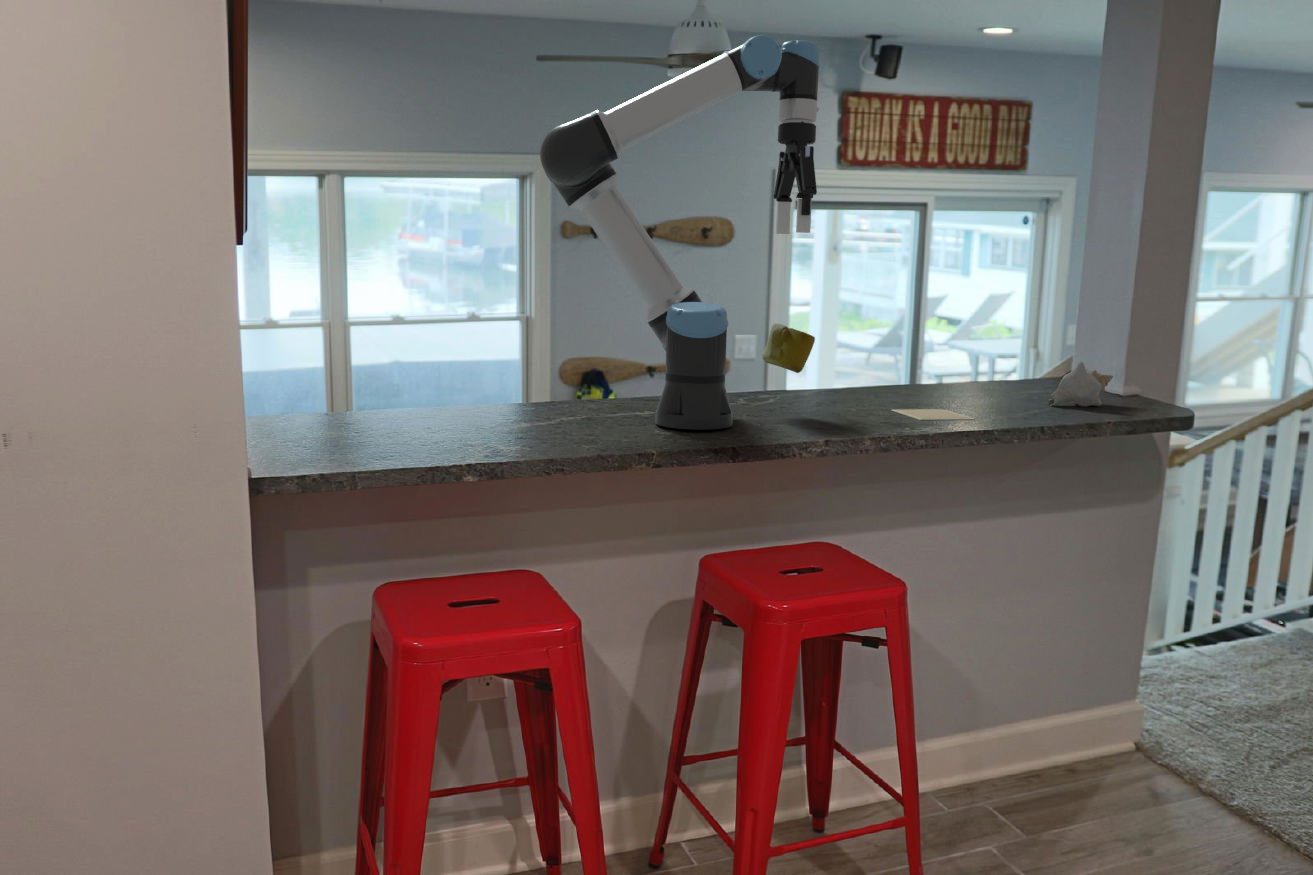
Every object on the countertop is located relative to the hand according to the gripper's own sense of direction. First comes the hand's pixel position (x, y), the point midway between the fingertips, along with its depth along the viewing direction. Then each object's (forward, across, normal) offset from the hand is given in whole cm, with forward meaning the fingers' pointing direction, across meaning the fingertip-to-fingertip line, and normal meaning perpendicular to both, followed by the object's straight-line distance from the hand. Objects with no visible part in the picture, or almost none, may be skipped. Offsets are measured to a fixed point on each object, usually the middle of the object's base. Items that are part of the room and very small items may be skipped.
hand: (792, 233), depth 224 cm
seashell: (+38, +2, -65) cm, 76 cm away
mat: (+36, -8, -30) cm, 47 cm away
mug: (+28, 0, +3) cm, 28 cm away
